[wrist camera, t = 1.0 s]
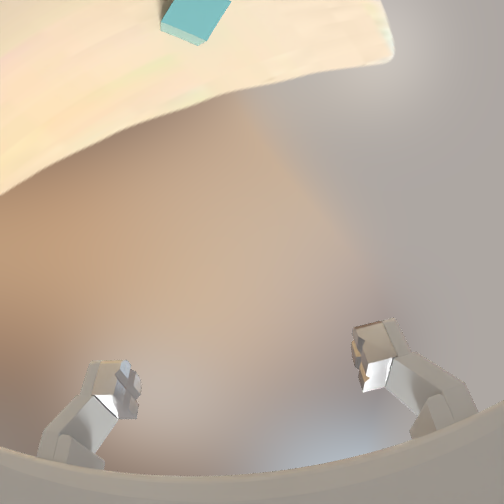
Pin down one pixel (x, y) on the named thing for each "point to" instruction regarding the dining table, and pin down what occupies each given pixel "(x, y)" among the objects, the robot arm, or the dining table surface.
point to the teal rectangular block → (193, 19)
